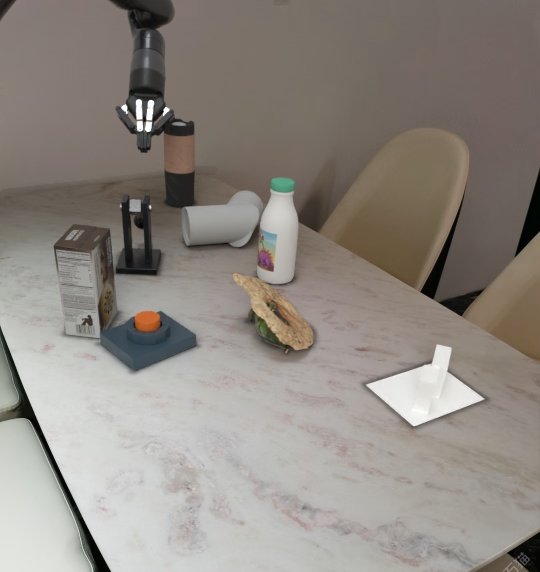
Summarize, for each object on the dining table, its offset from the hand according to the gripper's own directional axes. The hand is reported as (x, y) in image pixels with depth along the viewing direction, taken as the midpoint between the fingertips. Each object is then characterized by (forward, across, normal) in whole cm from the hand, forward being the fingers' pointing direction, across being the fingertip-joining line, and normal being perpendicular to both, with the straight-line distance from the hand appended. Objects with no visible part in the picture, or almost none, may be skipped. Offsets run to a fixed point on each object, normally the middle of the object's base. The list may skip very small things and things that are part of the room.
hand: (143, 150), depth 126 cm
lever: (+17, 0, -1) cm, 17 cm away
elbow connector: (+13, +17, +13) cm, 25 cm away
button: (+44, +5, -22) cm, 49 cm away
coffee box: (+42, -5, -15) cm, 45 cm away
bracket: (+24, 0, +2) cm, 24 cm away
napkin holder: (+54, +49, -28) cm, 78 cm away
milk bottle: (+27, +28, 0) cm, 39 cm away
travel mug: (-2, +6, +29) cm, 30 cm away
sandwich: (+43, +27, -16) cm, 53 cm away
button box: (+46, +5, -20) cm, 50 cm away
